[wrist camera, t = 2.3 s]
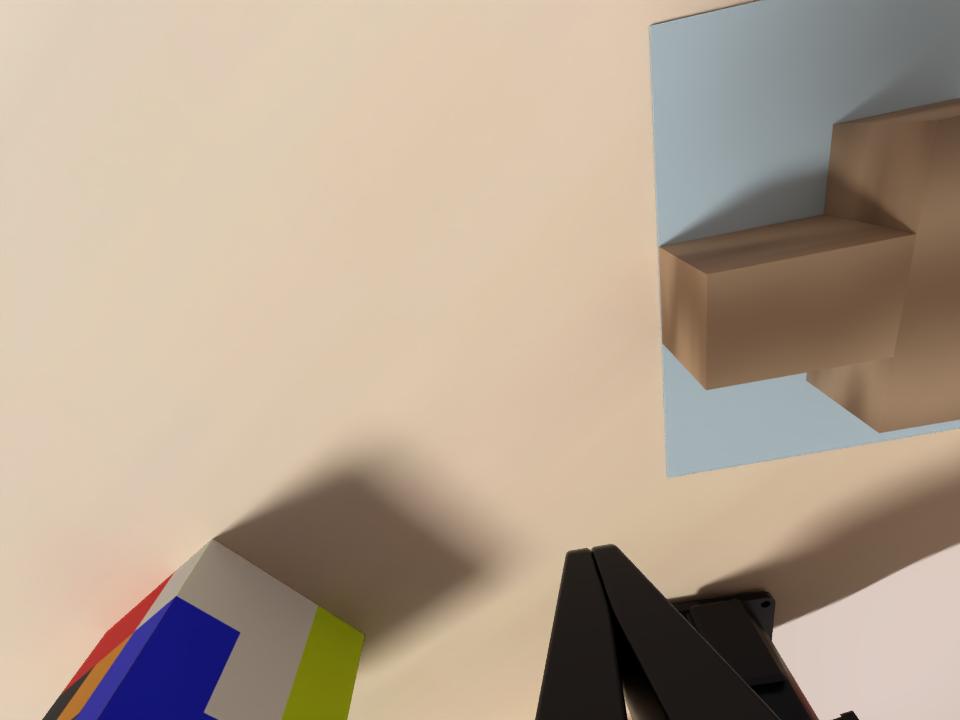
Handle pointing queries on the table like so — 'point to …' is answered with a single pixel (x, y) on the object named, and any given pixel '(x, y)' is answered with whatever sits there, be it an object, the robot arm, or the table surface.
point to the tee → (840, 280)
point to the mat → (776, 176)
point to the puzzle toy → (218, 652)
